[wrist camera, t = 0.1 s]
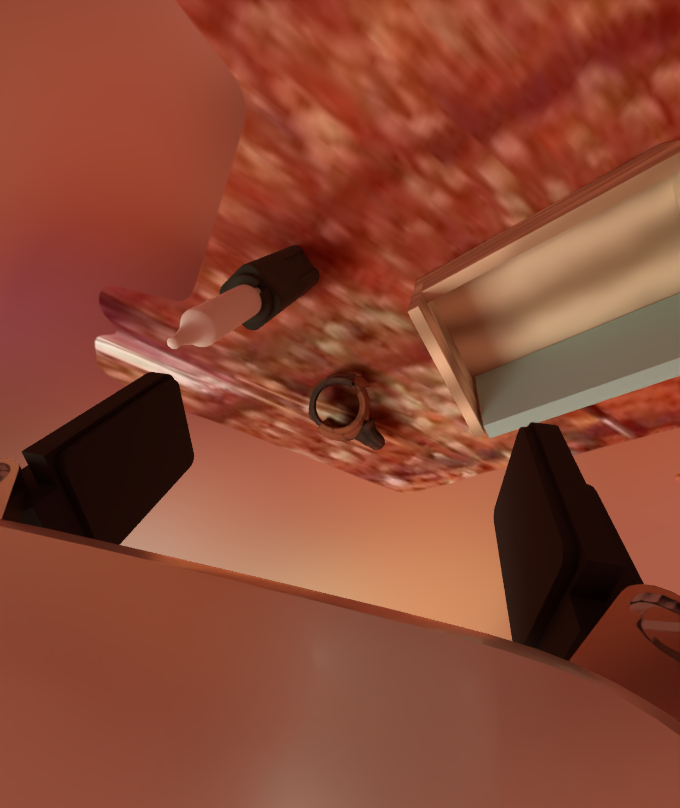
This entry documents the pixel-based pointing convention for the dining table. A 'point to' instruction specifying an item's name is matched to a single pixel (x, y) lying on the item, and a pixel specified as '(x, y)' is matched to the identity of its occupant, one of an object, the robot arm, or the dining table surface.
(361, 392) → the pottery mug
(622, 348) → the panel
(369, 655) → the robot arm
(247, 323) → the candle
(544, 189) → the dining table surface
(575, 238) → the wooden tray crate
